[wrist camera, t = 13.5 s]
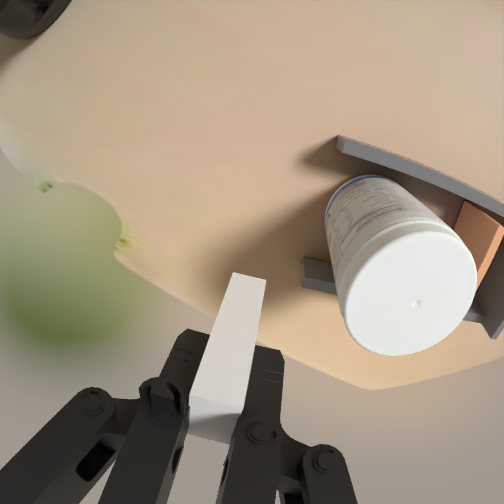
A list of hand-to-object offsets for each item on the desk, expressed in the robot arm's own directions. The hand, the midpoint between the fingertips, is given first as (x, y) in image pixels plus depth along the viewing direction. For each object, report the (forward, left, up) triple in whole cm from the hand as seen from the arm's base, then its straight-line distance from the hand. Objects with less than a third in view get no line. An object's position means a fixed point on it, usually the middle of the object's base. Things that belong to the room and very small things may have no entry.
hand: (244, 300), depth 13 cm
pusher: (+23, 0, -17) cm, 28 cm away
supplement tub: (+10, 0, -17) cm, 20 cm away
